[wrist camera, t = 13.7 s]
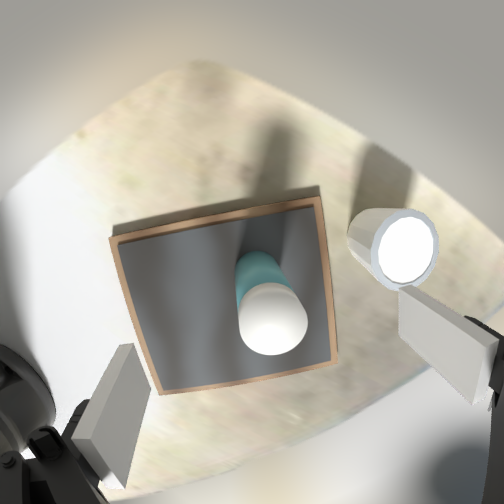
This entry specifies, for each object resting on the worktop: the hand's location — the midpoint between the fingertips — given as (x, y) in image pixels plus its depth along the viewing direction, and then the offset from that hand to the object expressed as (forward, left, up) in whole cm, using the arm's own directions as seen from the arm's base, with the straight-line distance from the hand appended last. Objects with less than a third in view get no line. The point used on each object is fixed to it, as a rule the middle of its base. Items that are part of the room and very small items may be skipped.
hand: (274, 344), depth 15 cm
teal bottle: (0, -1, -15) cm, 15 cm away
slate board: (-3, -4, -16) cm, 17 cm away
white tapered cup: (+12, 0, -16) cm, 20 cm away
